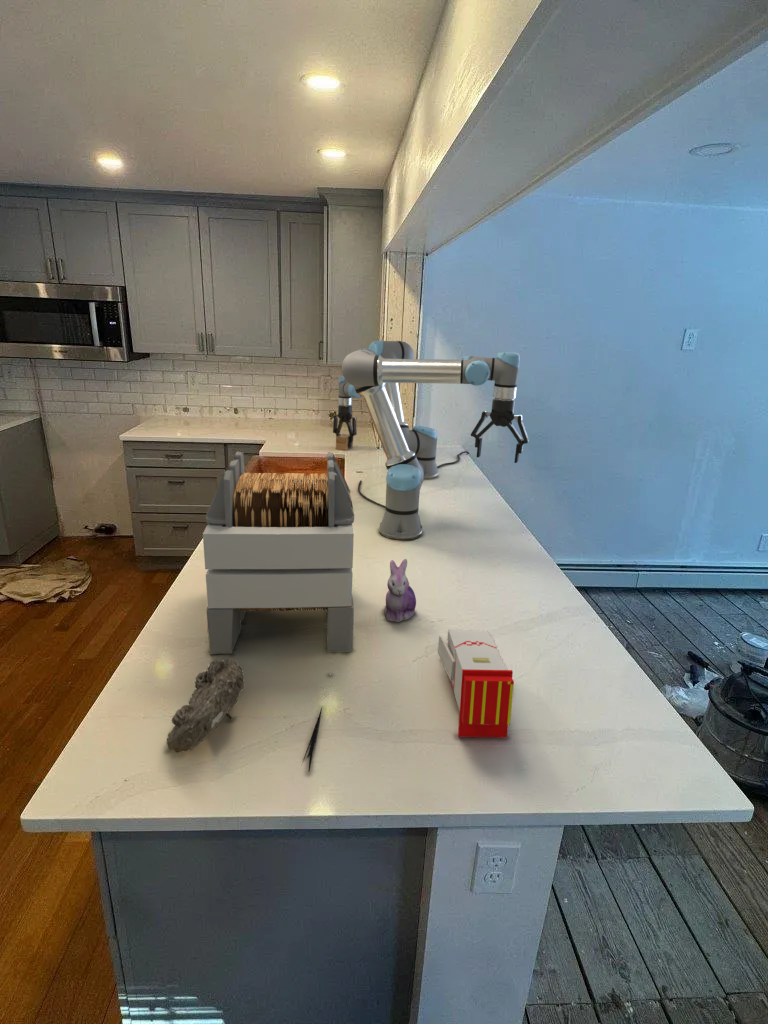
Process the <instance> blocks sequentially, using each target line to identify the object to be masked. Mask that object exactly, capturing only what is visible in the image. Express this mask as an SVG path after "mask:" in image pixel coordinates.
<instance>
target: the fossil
mask: <svg viewBox="0 0 768 1024" xmlns="http://www.w3.org/2000/svg"><path fill="white" fill-rule="evenodd" d="M243 670H244V669H243V667H242V665H240V664H237V662H236V661H235V660H234V659H232V658H231V659H227V658H226V659H224V660H223V661H222V660H217V659H212V660H211V661H210V663H209V665H208V666H207V671H201V672H199V673H198V674H197V675H196V676H195V680H194V684H195V685H194V687H195V689H194V690H193V693H192V694H191V697H190V698H189V700H188V704H184V705H182V706H181V707H180V709H177V710H176V711H175V713H174V715H173V716H172V718H171V723H172V724H173V727H172V730H171V731H170V732H168V734H167V738H166V741H167V742H166V745H167V749H168V750H169V751H173V752H174V753H176V754H178V753H182V752H188V751H189V752H192V751H193V750H195V748H196V747H197V746H199V744H200V743H201V742H203V741H204V740H205V739H206V738H207V737H208V736H209V735H210V734H211V733H212V732H214V730H215V729H217V727H218V726H219V724H220V722H221V721H222V720H223V719H224V718H225V716H226V717H227V719H229V720H233V717H232V715H230V714H229V710H230V709H231V708H234V706H235V704H236V703H237V702H238V699H239V697H240V695H241V693H242V691H243V690H245V689H244V688H245V675H244V671H243Z"/></svg>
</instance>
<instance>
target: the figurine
mask: <svg viewBox="0 0 768 1024" xmlns="http://www.w3.org/2000/svg"><path fill="white" fill-rule="evenodd" d="M407 567H408V559H406V558H404V559H403V560H402V561H401V563H400V565H399V566H398V565H397V563H396V562H395V561H394V560H393V559H391V560H390V561H389V570H390V576H389V578H388V579H387V589H388V591H387V592H386V594H385V595H386V596H385V607H384V615H385V616H386V620H387V621H391V622H395V623H400V622H402V621H406V620H409V619H410V618H411V617H413V616H414V615H415V610H416V606H417V597H416V593H415V591H414V590H413V587H411V586H410V582H409V579H408V577H407V574H406V571H407Z"/></svg>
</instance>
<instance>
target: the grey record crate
mask: <svg viewBox="0 0 768 1024" xmlns="http://www.w3.org/2000/svg"><path fill="white" fill-rule="evenodd" d="M244 455H245V454H244V451H242V452H241V451H236V452H235V454H234V456H233V458H232V459H230V463H229V465H228V467H227V469H226V470H224V473H223V475H222V478H221V479H220V482H219V484H218V487H217V489H216V491H215V494H214V495H213V497H212V500H211V502H210V505H209V507H208V509H207V511H206V515H205V523H206V524H207V525H206V527H205V529H204V531H203V533H202V543H203V558H204V569H205V570H206V573H205V584H206V587H205V588H206V598H207V599H206V601H207V607H206V623H207V634H208V641H209V642H208V643H209V650H208V653H209V655H216V654H217V655H218V654H221V655H222V654H223V655H226V654H227V655H228V654H230V655H231V654H232V653H233V650H234V648H235V647H236V643H237V641H238V638H239V636H240V634H241V630H242V626H241V625H242V623H241V622H243V621H244V618H245V615H246V612H272V611H273V612H279V611H280V612H284V611H286V612H288V611H289V612H291V611H292V612H293V611H294V612H295V611H303V612H304V611H322V610H323V611H326V636H327V637H326V641H327V645H326V646H327V652H329V653H330V652H332V653H333V652H343V653H349V652H351V651H352V650H354V617H355V616H354V614H355V607H354V598H353V575H354V573H353V566H354V563H353V562H354V537H355V536H354V535H355V532H354V527H353V524H354V522H355V511H354V506H353V505H354V504H353V500H352V495H351V489H350V487H349V485H348V483H347V480H346V479H345V476H344V474H343V472H342V470H341V467H340V465H339V463H338V461H337V459H336V457H335V455H334V453H333V452H327V453H326V456H327V457H326V468H327V469H326V473H320V474H318V473H307V474H306V473H303V472H302V473H299V472H298V473H297V472H294V473H293V472H292V473H291V472H290V473H288V472H283V473H276V472H273V473H271V472H263V473H262V472H259V473H258V472H253V473H252V472H245V468H246V467H245V456H244Z"/></svg>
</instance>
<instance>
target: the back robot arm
mask: <svg viewBox="0 0 768 1024" xmlns="http://www.w3.org/2000/svg"><path fill="white" fill-rule="evenodd" d="M367 349H369V350H372V351H374V352H375V353H377V354H378V355H380V356H382V357H383V358H384V359H415V352H414V349H413V347H412V346H411V345H410V344H409V343H407V342H405V341H403V340H382V339H381V340H373V341H372V342H371V343H370V345H369V346H368V348H367ZM385 389H386V392H387V394H388V397H389V399H390V402H391V405H392V407H393V410H394V412H395V415H396V417H397V420H398V423H399V425H400V428H401V430H402V433H403V435H404V438H405V441H406V443H407V446H408V448H409V450H410V451H413V452H414V453H415V455H416V457H417V460H418V462H419V463H420V464H421V465H422V467H423V470H424V480H434V479H437V478H438V477H439V470H438V469H439V468H441V467H444V466H448V465H454V464H455V465H456V464H457V463H459V461H460V460H461V457H460V456H461V455H463V454H467V455H470V452H469V451H468V450H464V451H462V452H459V453H458V454H457V455H456V456H457V460H455V461H451V462H446V463H445V462H444V463H442V464H439V465H437V459H436V458H437V457H436V456H437V446H438V431H437V430H436V429H435V428H432V427H429V426H422V425H414V426H412V429H410V426H409V424H408V423H406V422H405V416H404V410H403V409H404V408H403V405H402V397H401V394H400V393H401V392H400V386H399V383H386V386H385ZM360 398H363V397H362V396H360V395H358V394H357V393H356V391H355V388H354V386H353V385H351V384H349V383H348V382H347V381H346V380H345V378H344V377H343V375H341V376H339V377H338V403H337V404H338V406H337V411H338V413H337V414H333V416H332V417H333V423H332V424H333V426H332V433H333V434H335V437H336V436H339V435H341V434H342V433H341V430H342V427H343V424H344V423H345V424H346V427H347V429H348V430H347V431H348V434H349V435H350V436H349V438H348V448H350V449H352V448H351V447H352V442H353V443H354V437H355V436H356V435H357V433H358V432H357V431H358V429H357V420H358V417H356V416H353V406H352V405H353V399H360ZM380 445H381V449H382V450H383V452H384V449H383V447H382V444H381V443H380Z"/></svg>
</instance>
